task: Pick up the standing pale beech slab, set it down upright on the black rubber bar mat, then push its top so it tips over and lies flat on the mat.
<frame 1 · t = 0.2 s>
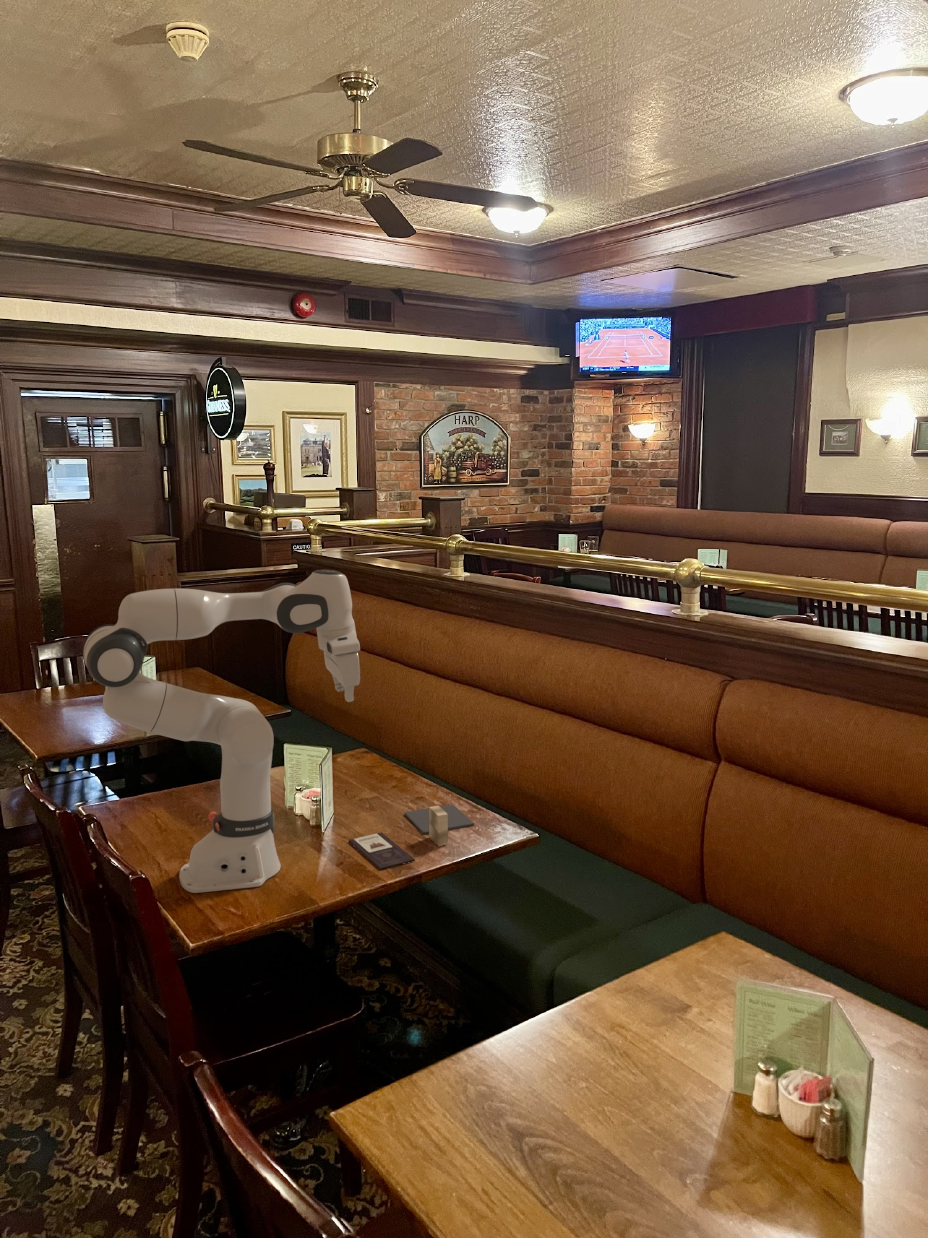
hand: (344, 695, 214), 39 cm above the table, tool pointing down, fingers open, 8 cm apart
beech slab: (438, 841, 227), on the table
bar mat: (438, 820, 240), on the table
chocolate bar: (381, 854, 221), on the table
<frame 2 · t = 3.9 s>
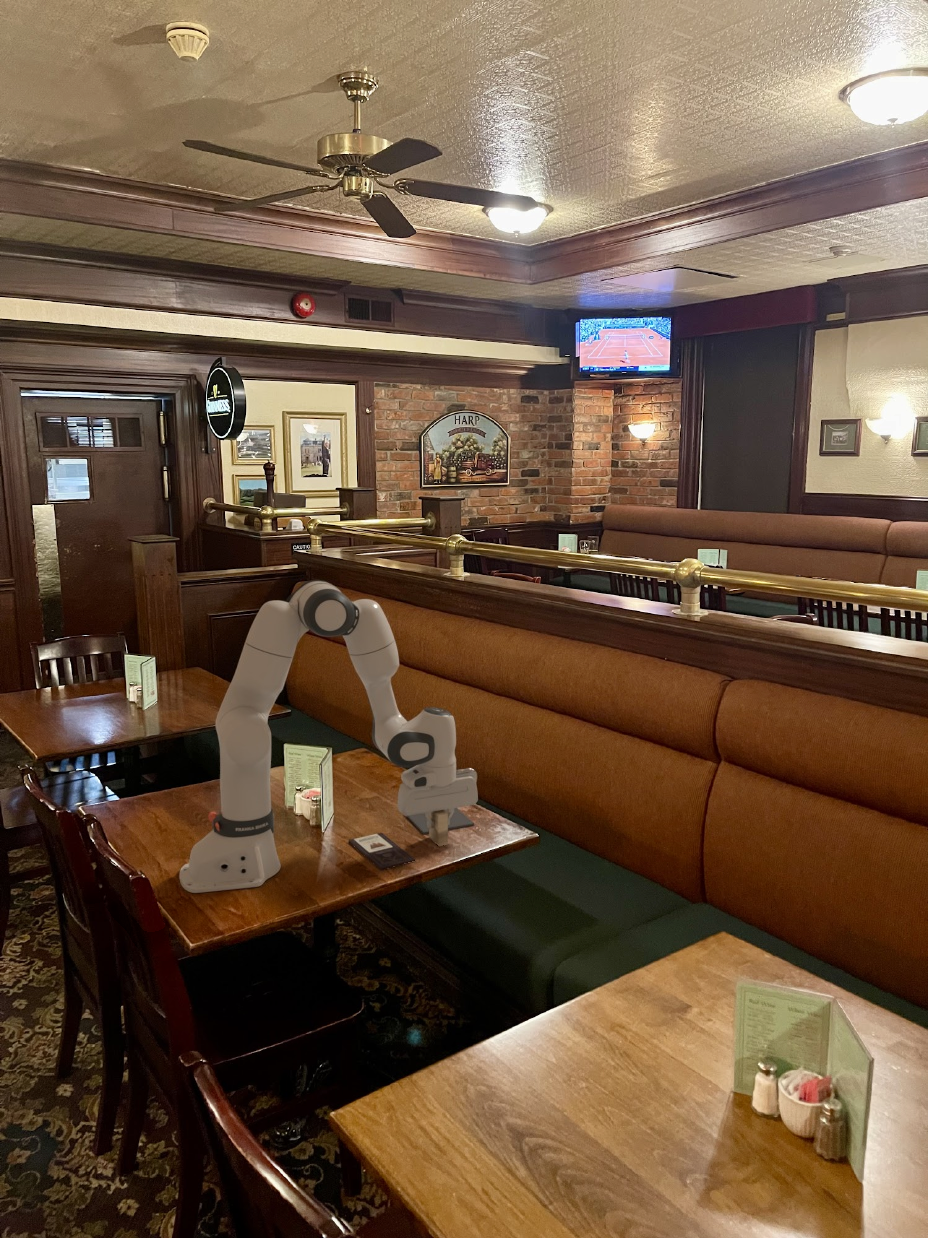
hand: (438, 826, 226), 4 cm above the table, tool pointing down, fingers closed on beech slab, 2 cm apart
beech slab: (438, 841, 227), on the table, touching gripper
everything else where it was.
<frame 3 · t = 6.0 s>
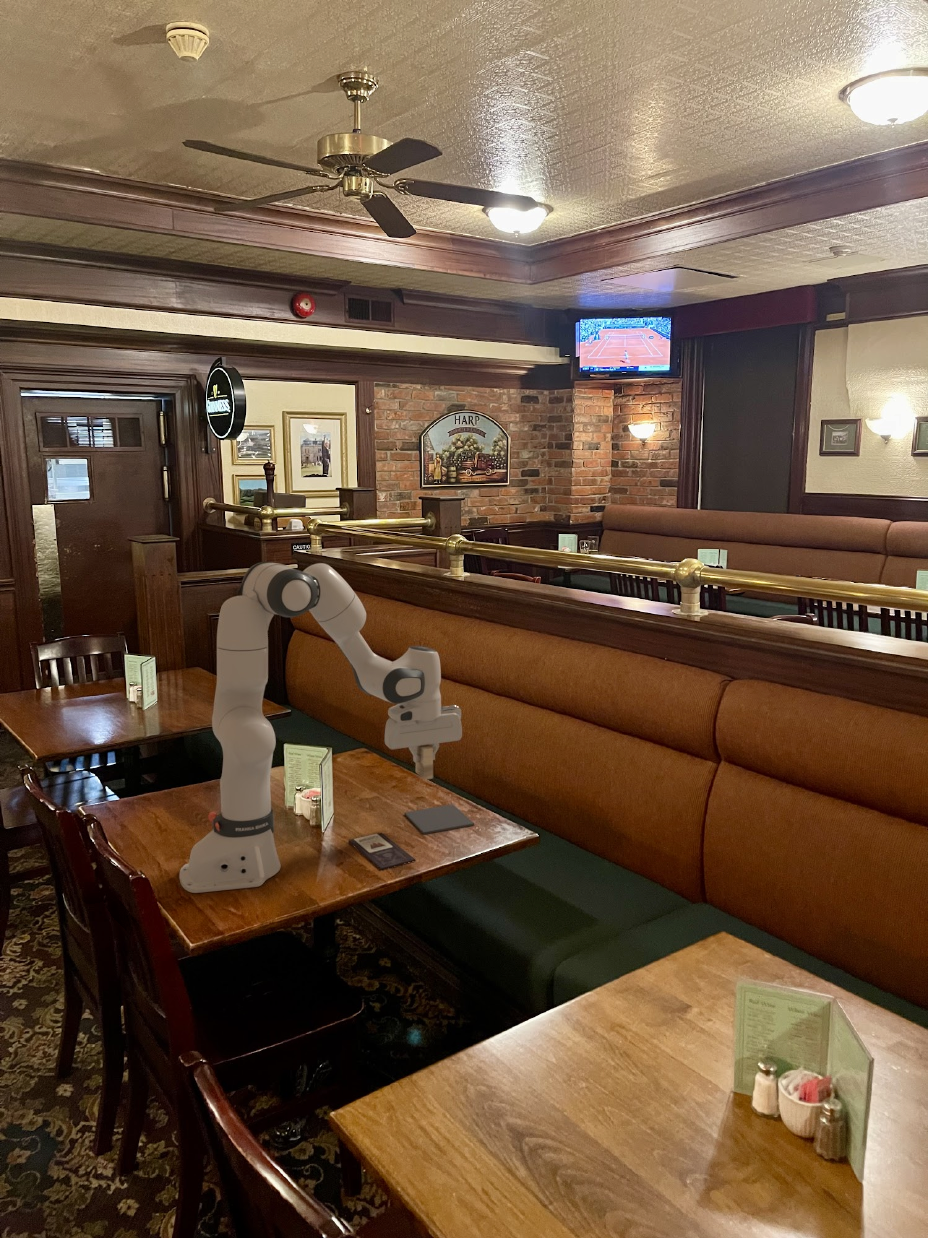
hand: (424, 760, 235), 17 cm above the table, tool pointing down, fingers closed on beech slab, 2 cm apart
beech slab: (424, 775, 236), point 13 cm above the table, touching gripper
everything else where it was.
when the fingers open (5 cm above the table, at t = 8.3 s): beech slab stays where it is, resting on bar mat.
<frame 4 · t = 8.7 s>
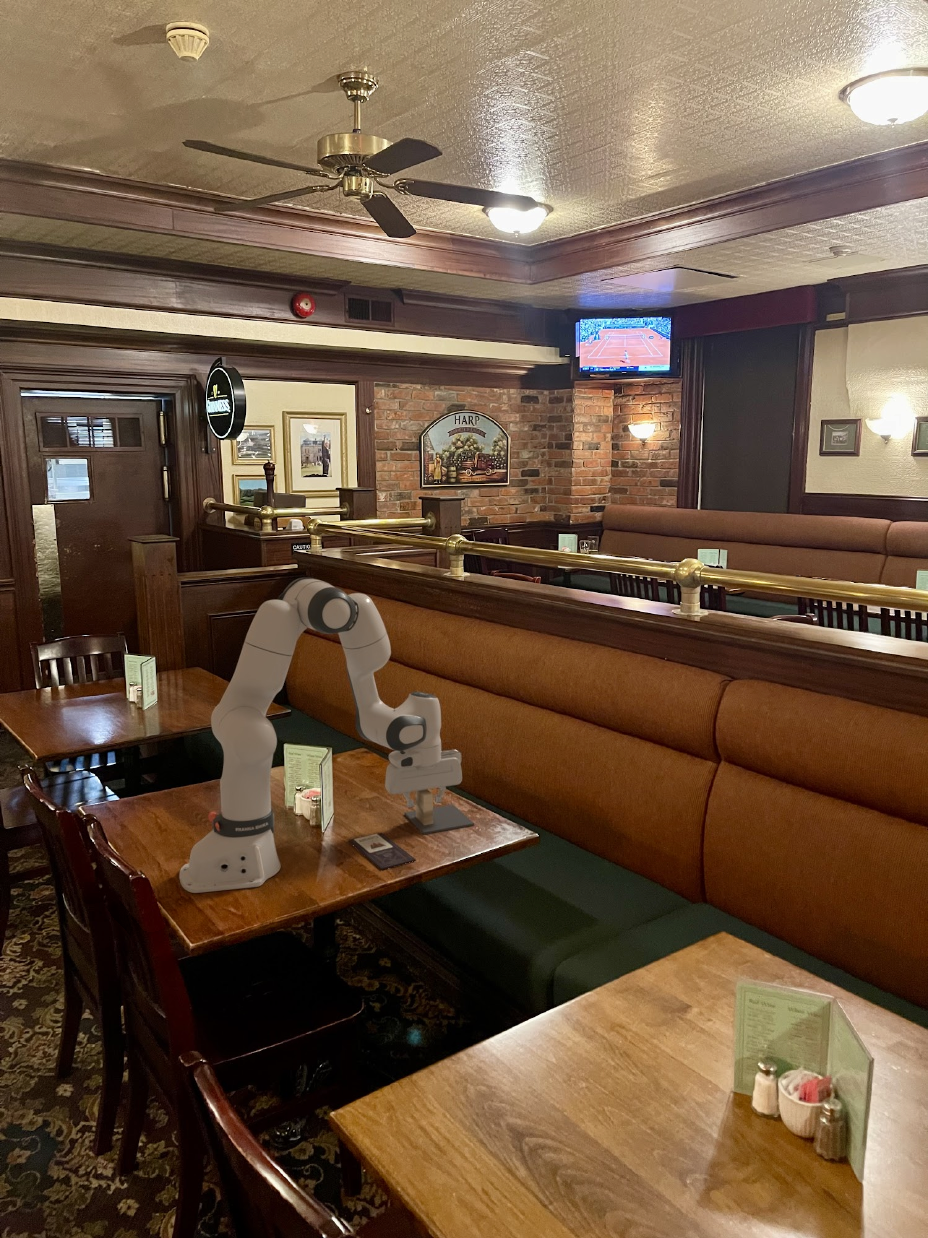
hand: (424, 804, 237), 5 cm above the table, tool pointing down, fingers open, 6 cm apart
beech slab: (424, 820, 238), point 1 cm above the table, touching bar mat
everything else where it was.
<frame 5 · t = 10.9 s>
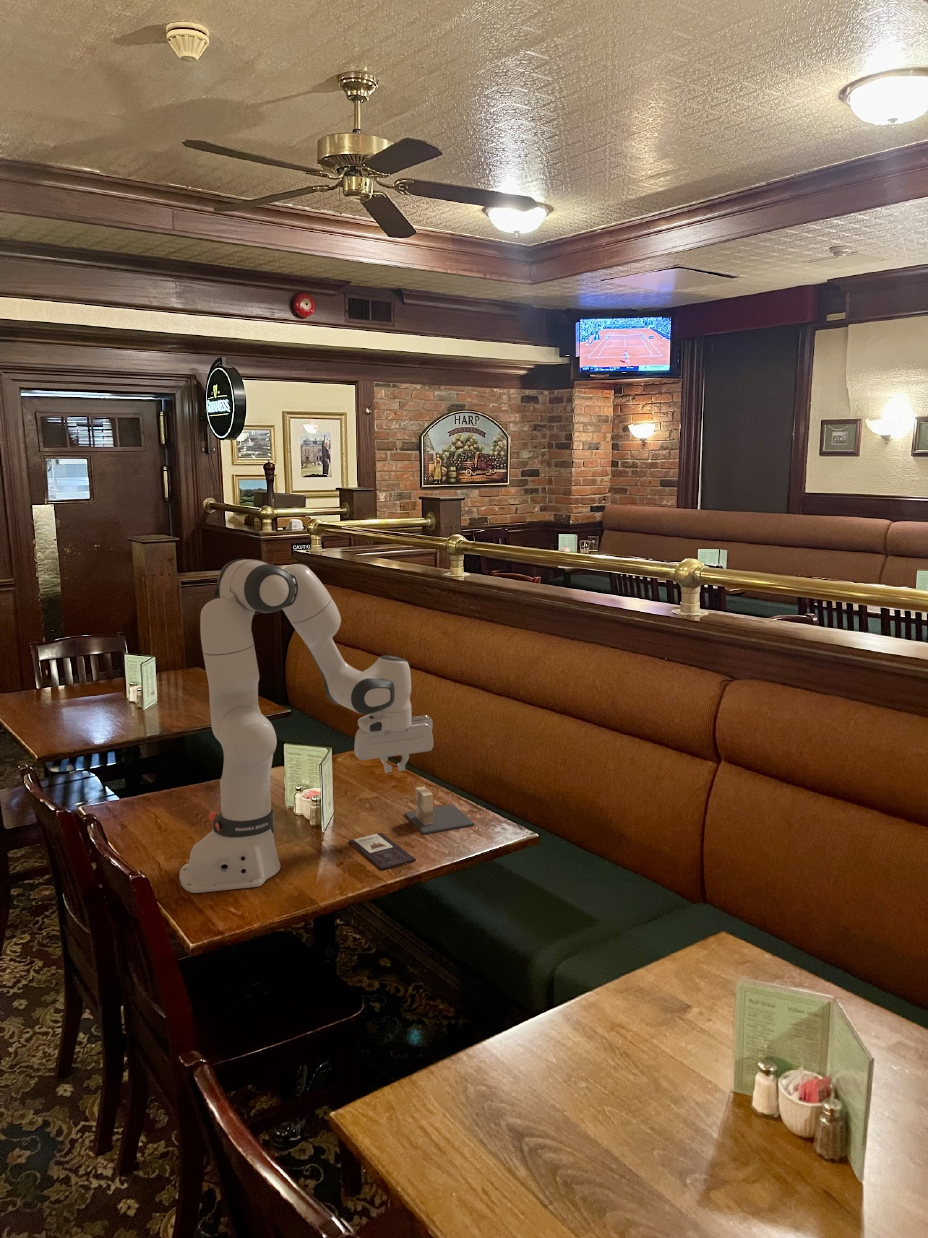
hand: (394, 771, 232), 15 cm above the table, tool pointing down, fingers closed
nothing on the table moved.
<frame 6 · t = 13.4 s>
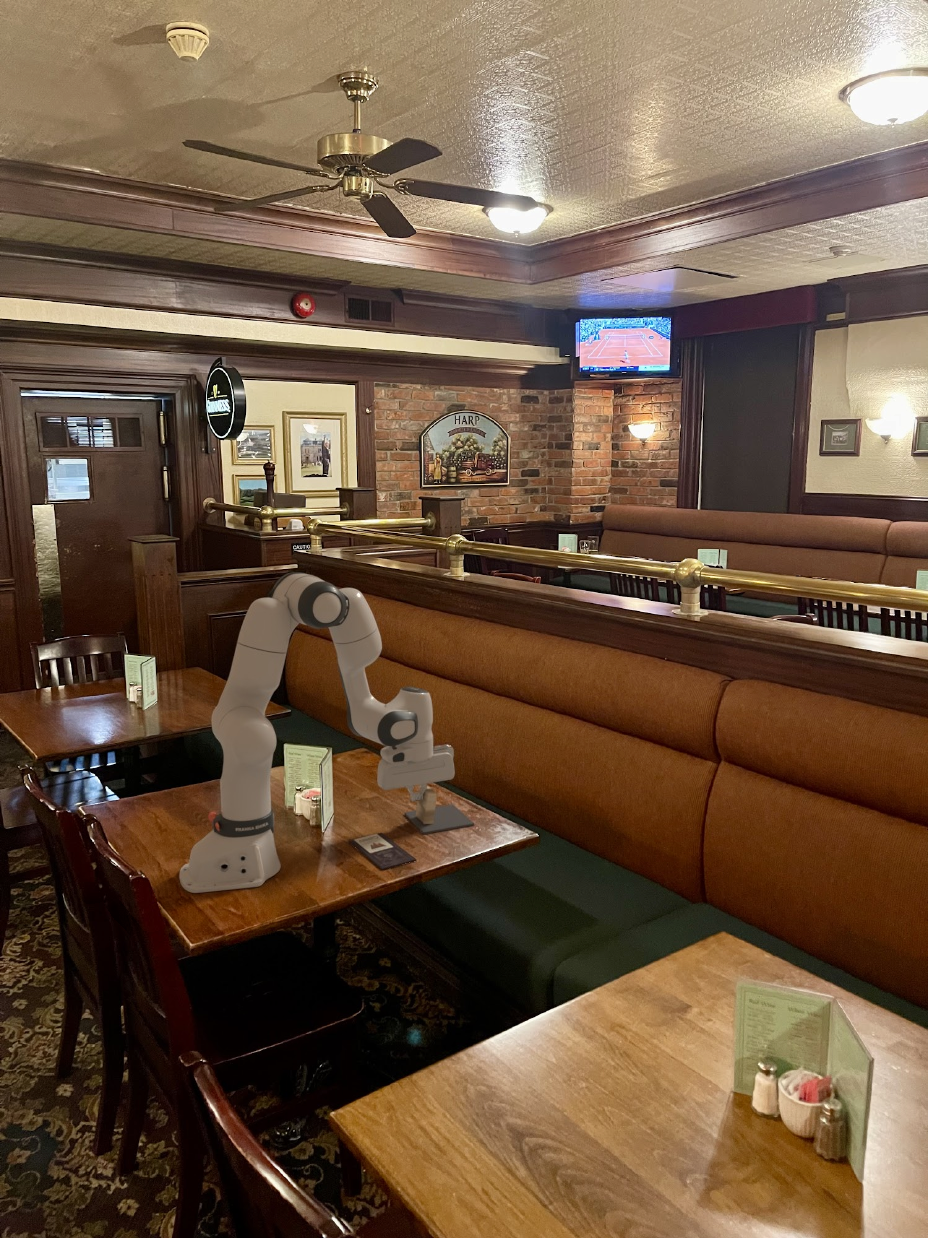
hand: (416, 800, 236), 6 cm above the table, tool pointing down, fingers closed
beech slab: (424, 819, 238), point 1 cm above the table, tilted 8°, touching bar mat
everything else where it was.
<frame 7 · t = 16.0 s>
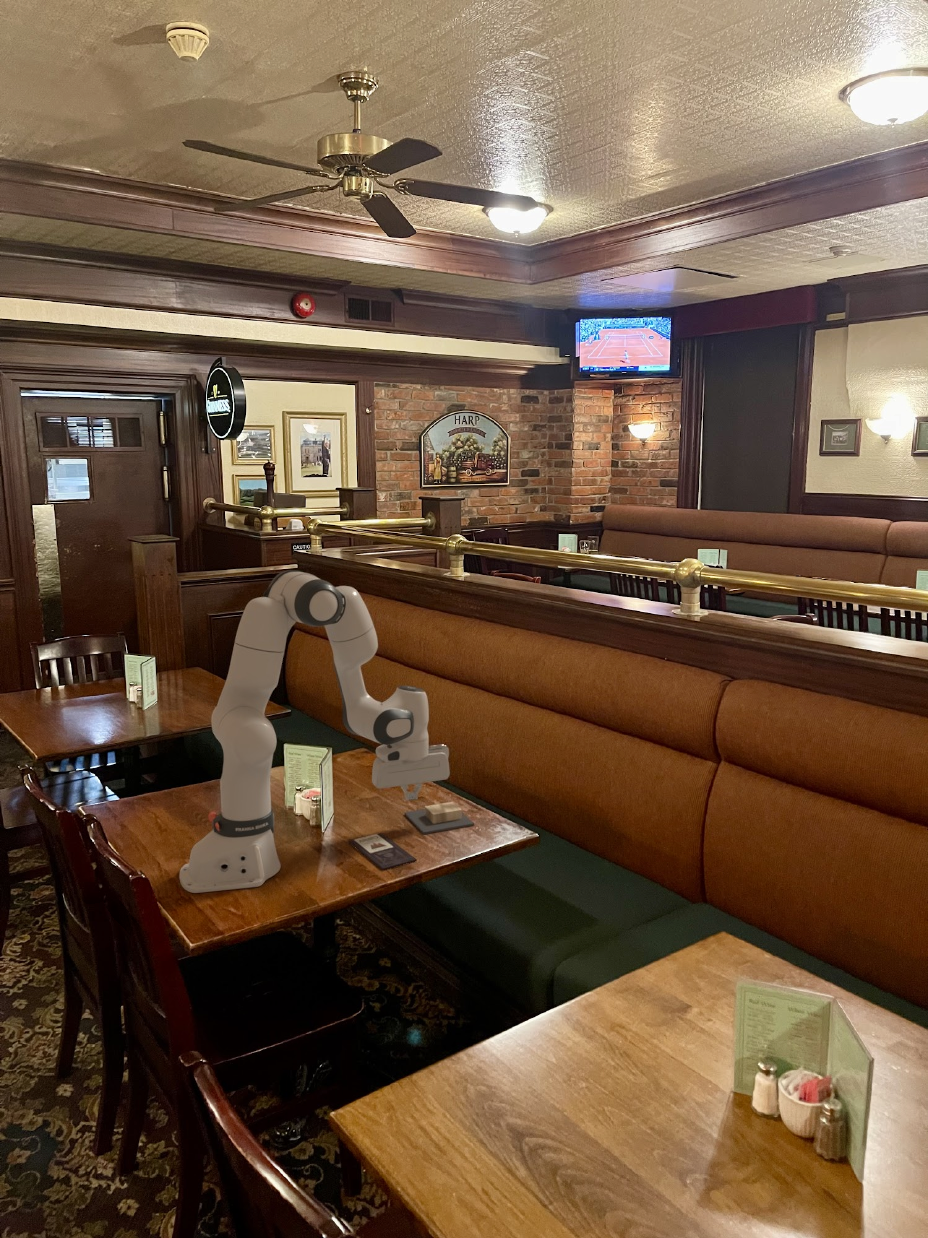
hand: (411, 799, 236), 7 cm above the table, tool pointing down, fingers closed
beech slab: (429, 815, 238), point 2 cm above the table, tilted 90°, touching bar mat
everything else where it was.
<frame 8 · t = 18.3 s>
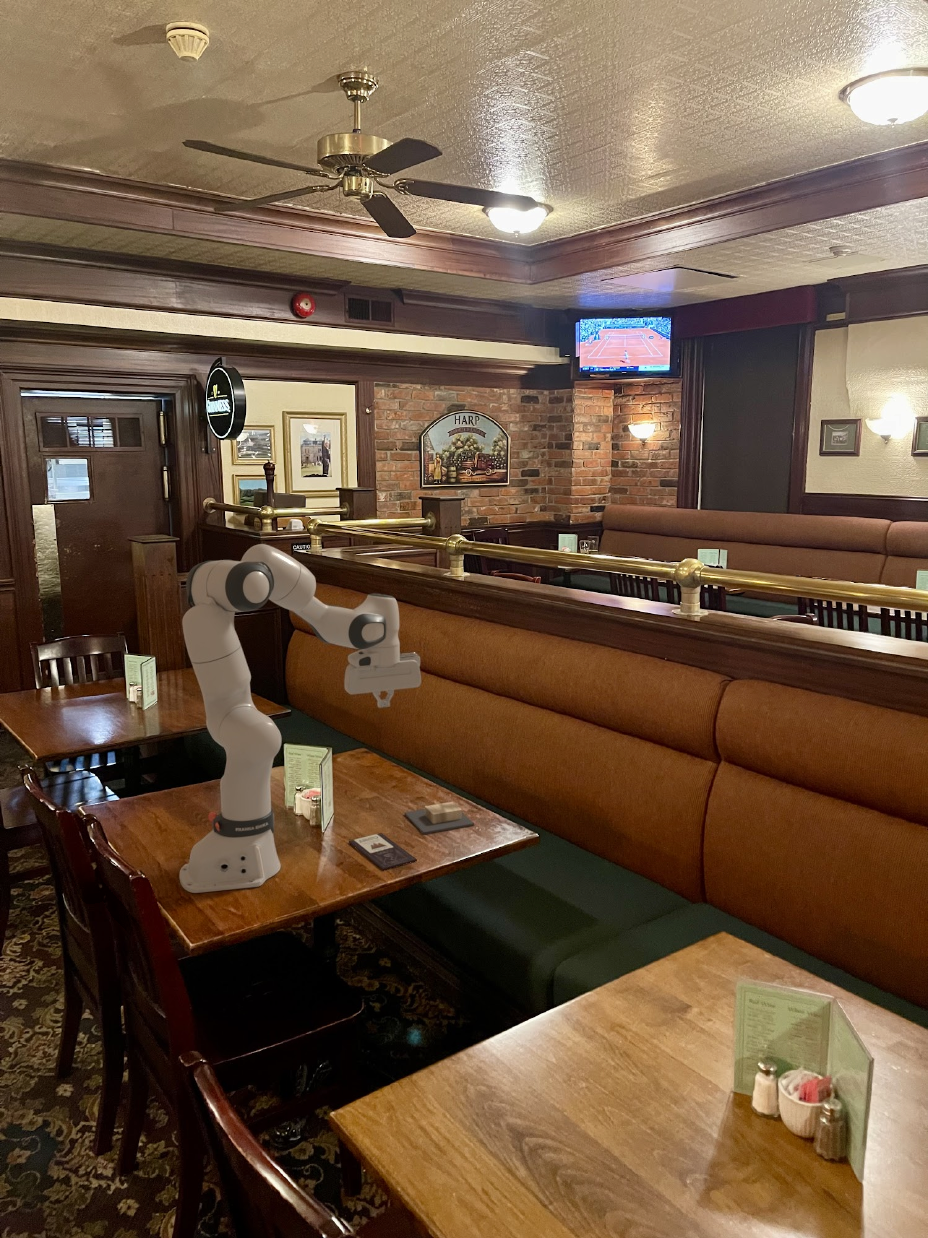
hand: (383, 706, 240), 29 cm above the table, tool pointing down, fingers closed
nothing on the table moved.
at the end: beech slab tilted 90°; beech slab inside the target area (2.8 cm from its centre), point 1.8 cm above the table; the gripper is holding nothing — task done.
